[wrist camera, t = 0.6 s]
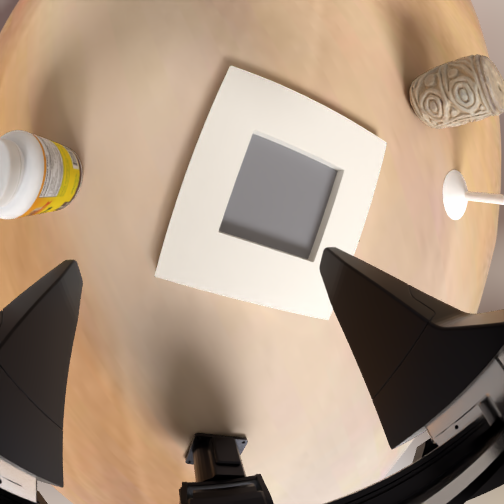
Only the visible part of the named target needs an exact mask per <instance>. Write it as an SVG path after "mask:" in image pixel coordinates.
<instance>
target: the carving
mask: <svg viewBox="0 0 504 504" xmlns="http://www.w3.org/2000/svg"><path fill="white" fill-rule="evenodd" d="M409 93H410V102H411V105H412V107H413V109H414V111H415V113H416V115H417V116H418V118H419V119H420V120H421V121H422V122H423V123H425V124H426V125H428V126H430V127H433V128H445V127H455V126H460V125H463V124H466V123H468V122H469V121H470V122H473V121H478V120H479V121H480V120H482V119H484V118H487V117H489V116H494V115H500V114H501V113H504V80H503V78H502V76H501V74H500V73H499V71H498V69H497V68H496V66H495V65H494V63H493V62H492V61H491V60H490V59H489V58H487V57H486V56H481V55H475V56H474V55H470V56H468V57H464V58H460V59H457V60H456V61H451V62H448V63H445V64H443V65H440V66H437V67H435V68H433V69H431V70H429V71H427V72H425V73H424V74H422V75H420V76H419V77H417V78H416V79H415V80H414V81H413V82H412V84H411V86H410V91H409Z"/></svg>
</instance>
